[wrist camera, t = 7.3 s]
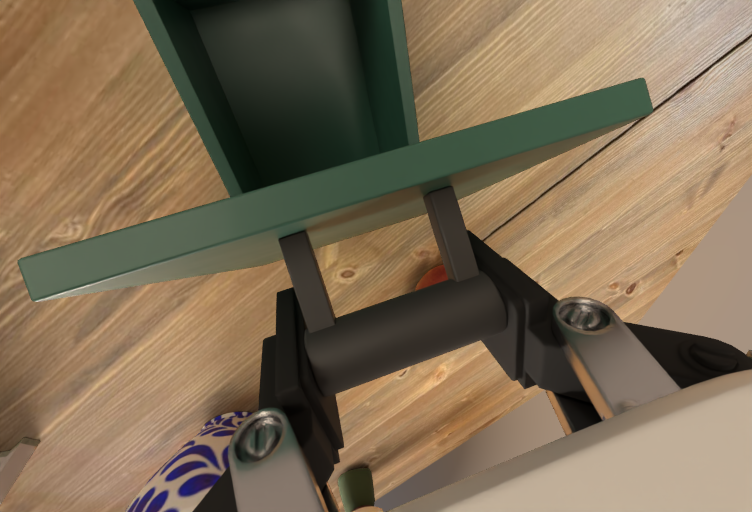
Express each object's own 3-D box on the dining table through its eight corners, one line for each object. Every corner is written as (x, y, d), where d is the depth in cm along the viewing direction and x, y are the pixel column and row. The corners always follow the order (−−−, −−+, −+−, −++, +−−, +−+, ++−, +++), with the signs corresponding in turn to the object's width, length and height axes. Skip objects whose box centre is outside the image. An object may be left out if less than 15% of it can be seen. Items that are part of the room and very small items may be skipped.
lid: (13, 258, 5) (113, 527, 6) (645, 75, 7) (707, 298, 7) (257, 254, 22) (281, 323, 22) (428, 201, 23) (448, 266, 24)
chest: (174, 1, 22) (114, -37, 14) (350, -38, 23) (389, -93, 15) (264, 205, 30) (259, 257, 22) (389, 168, 32) (427, 204, 24)
